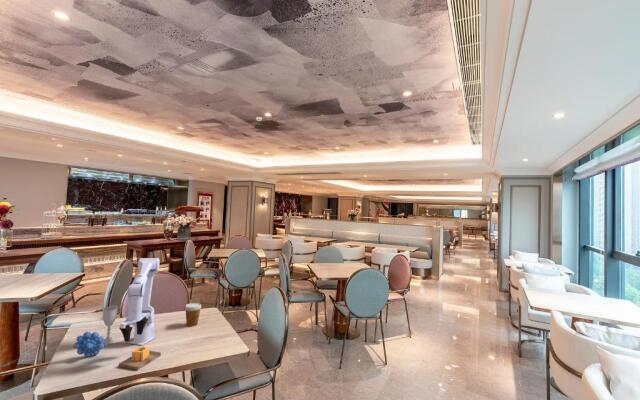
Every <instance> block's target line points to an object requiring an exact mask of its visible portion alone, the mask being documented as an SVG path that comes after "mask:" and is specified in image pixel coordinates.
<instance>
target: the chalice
mask: <svg viewBox="0 0 640 400" xmlns="http://www.w3.org/2000/svg"><path fill="white" fill-rule="evenodd" d="M118 308H119V306H118V305H109V306H106V307H105V306H104V307H102V308H101V310H102V320H103V323H104V324H105V327H107V329H106V331H107V333H106V335H107V336H106V337H105V338H104V341H103V342H102V343H103V344H104V346H105V345H106V346H107V345H108V346H109V345H111V344H113V343H114V342H115V341H114V339H113V337H111V336H110V334H111V326H112V325H113V324H114V322H115V321H116V318H117V317H118V316H117V313H118Z"/></svg>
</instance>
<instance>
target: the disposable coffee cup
mask: <svg viewBox="0 0 640 400" xmlns="http://www.w3.org/2000/svg"><path fill="white" fill-rule="evenodd" d="M201 309H202V304H201V303H199V302H191V303H187V304H185V307H184V310H185V319H186V320H185V322H186V326H187V327H195V326H198V324H199V318H200V314H201Z"/></svg>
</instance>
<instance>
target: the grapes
mask: <svg viewBox="0 0 640 400" xmlns="http://www.w3.org/2000/svg"><path fill="white" fill-rule="evenodd" d="M104 339H105V338H104V337H103V336H100V334H99V333H98V332H96V331H94V332H92V333H91V332H90V331H85V332H83V335H78V336H77V337H76V338H75V340H76V341H75V343H74V344H73V348H74V349H77V350H76V353H77V355H81V356H82V355H83V356H85V357H86V358H89V357H91V356H92V355H94V356H97V355H98V354H99V353H100V350H102V349H104V348H105V345H104V344H103V341H104Z"/></svg>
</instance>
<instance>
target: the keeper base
mask: <svg viewBox="0 0 640 400" xmlns="http://www.w3.org/2000/svg"><path fill="white" fill-rule="evenodd" d="M139 351H141V352H142V351H143V349H141V350H139ZM161 352H162V351H161ZM161 352H159V351H153V350H149V356H148V357H147V358H145V359H144V360H143V361H135V360H131V359H132V355H131V356H130V357H128V358H126V359H125V360H123V361H121V362H119V363H118V368H121V369H128V370H132V369H135V370H134V371H139V370H141V369H143V368H144V367H145V366H147V365H148V364H150V363H151V362H153V361H155V360H156V359H158V358H160V357H161ZM140 368H141V369H140ZM138 369H139V370H138Z"/></svg>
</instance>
